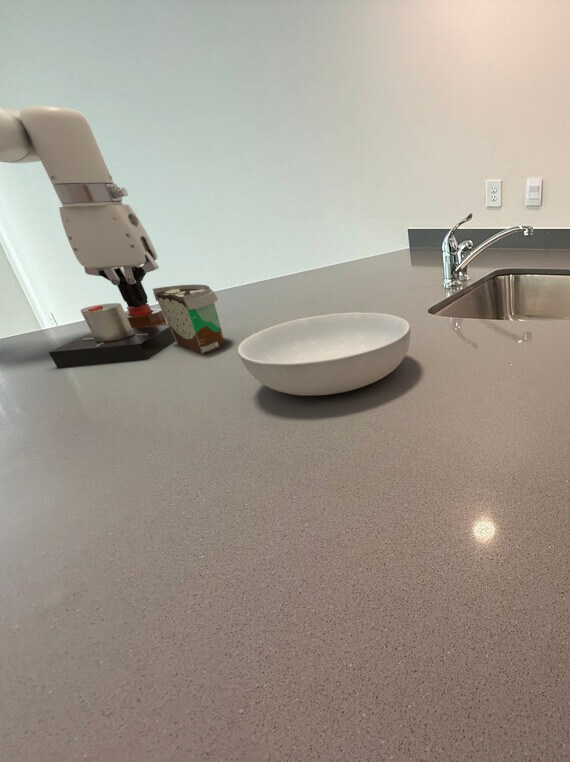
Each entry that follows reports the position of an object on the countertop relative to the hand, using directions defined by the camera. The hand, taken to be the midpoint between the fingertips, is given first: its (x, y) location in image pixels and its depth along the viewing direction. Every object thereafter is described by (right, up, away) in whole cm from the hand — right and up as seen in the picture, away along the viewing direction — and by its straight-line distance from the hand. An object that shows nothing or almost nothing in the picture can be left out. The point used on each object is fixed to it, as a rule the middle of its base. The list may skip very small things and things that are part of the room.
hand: (138, 304), depth 75 cm
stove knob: (+5, -7, -9) cm, 12 cm away
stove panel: (+5, -10, -8) cm, 13 cm away
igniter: (0, -5, +2) cm, 6 cm away
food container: (+17, -8, -5) cm, 20 cm away
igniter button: (0, -2, +1) cm, 2 cm away
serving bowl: (+46, -14, -19) cm, 51 cm away
